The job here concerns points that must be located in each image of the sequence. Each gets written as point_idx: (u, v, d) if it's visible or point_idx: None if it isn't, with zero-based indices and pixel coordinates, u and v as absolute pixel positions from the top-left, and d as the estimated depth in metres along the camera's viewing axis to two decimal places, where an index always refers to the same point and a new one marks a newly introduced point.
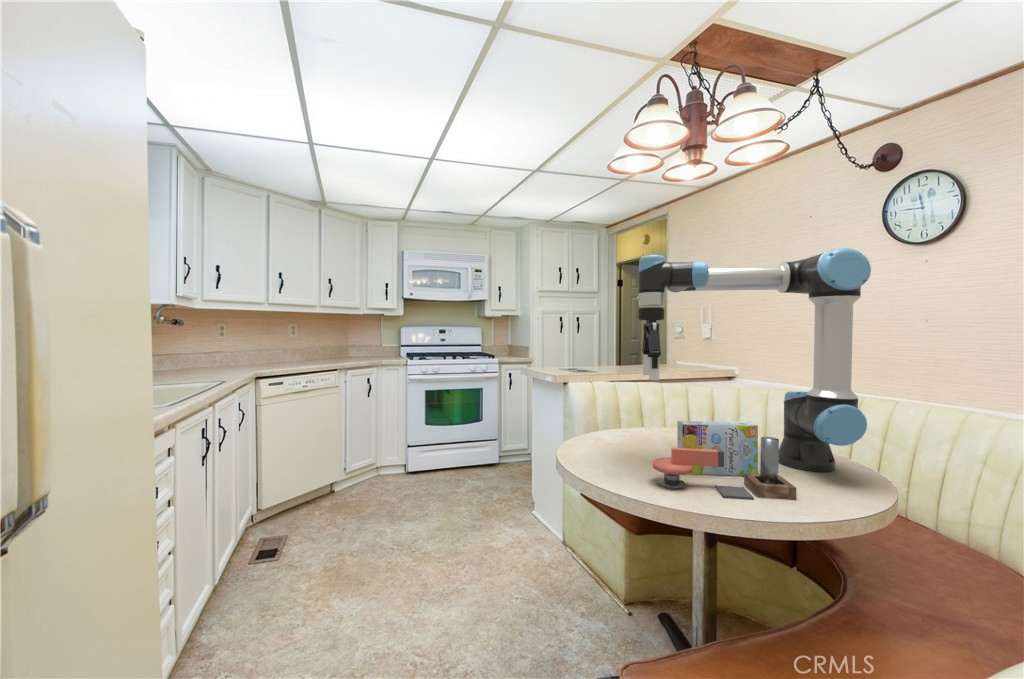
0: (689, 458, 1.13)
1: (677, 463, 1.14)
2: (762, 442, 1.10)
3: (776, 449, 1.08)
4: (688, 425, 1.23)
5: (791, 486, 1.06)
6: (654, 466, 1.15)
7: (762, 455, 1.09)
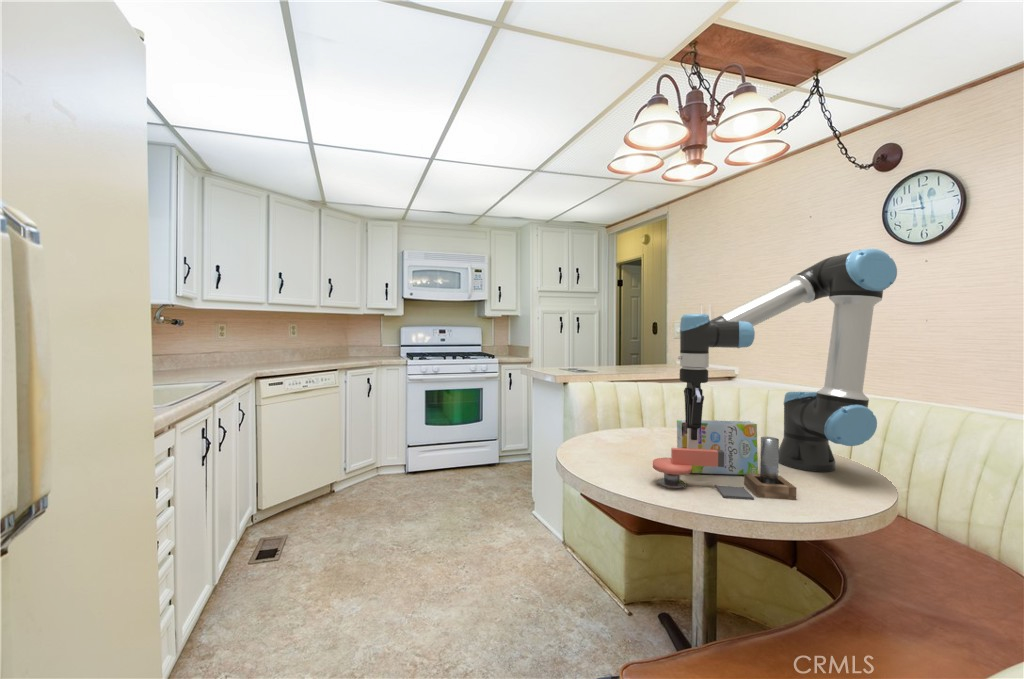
0: (689, 458, 1.13)
1: (677, 463, 1.14)
2: (762, 442, 1.10)
3: (776, 449, 1.08)
4: None
5: (791, 486, 1.06)
6: (654, 466, 1.15)
7: (762, 455, 1.09)
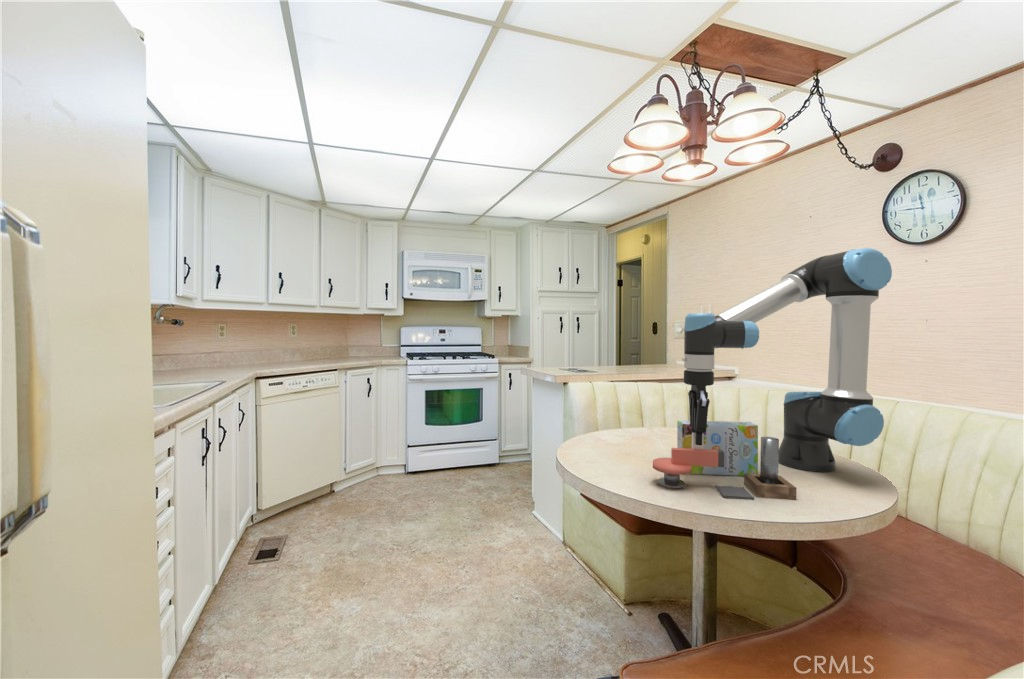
0: (689, 458, 1.13)
1: (677, 463, 1.14)
2: (762, 442, 1.10)
3: (776, 449, 1.08)
4: (688, 425, 1.23)
5: (791, 486, 1.06)
6: (654, 466, 1.15)
7: (762, 455, 1.09)
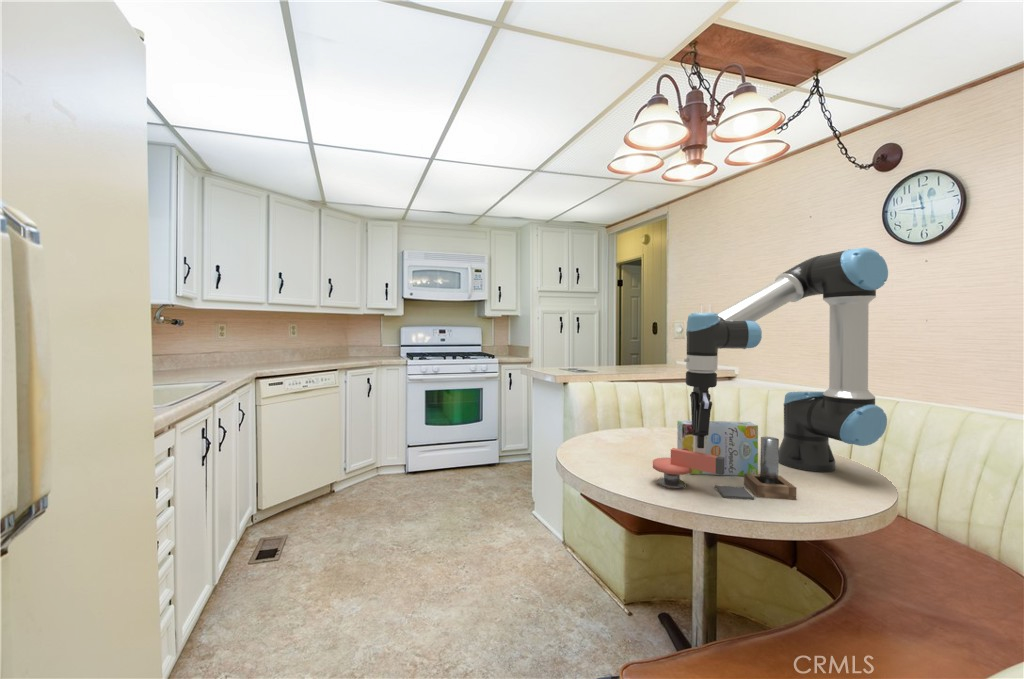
0: (686, 460, 1.12)
1: (675, 463, 1.14)
2: (762, 442, 1.10)
3: (776, 449, 1.08)
4: (688, 425, 1.23)
5: (791, 486, 1.06)
6: None
7: (762, 455, 1.09)
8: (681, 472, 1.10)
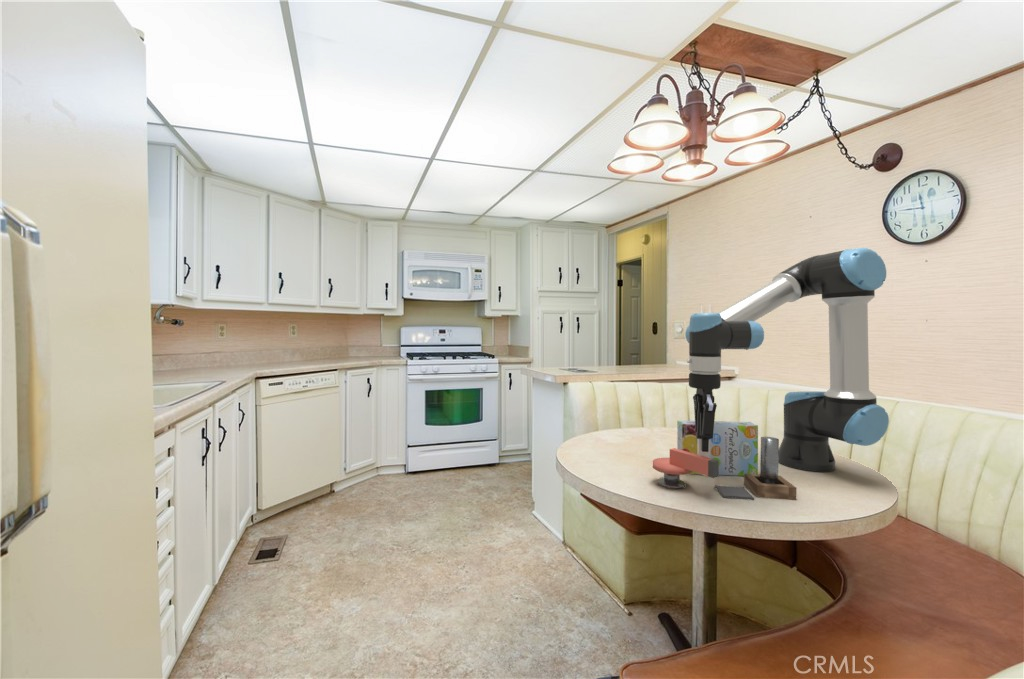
0: (683, 461, 1.11)
1: (673, 463, 1.14)
2: (762, 442, 1.10)
3: (776, 449, 1.08)
4: (688, 425, 1.23)
5: (791, 486, 1.06)
6: None
7: (762, 455, 1.09)
8: (675, 472, 1.10)
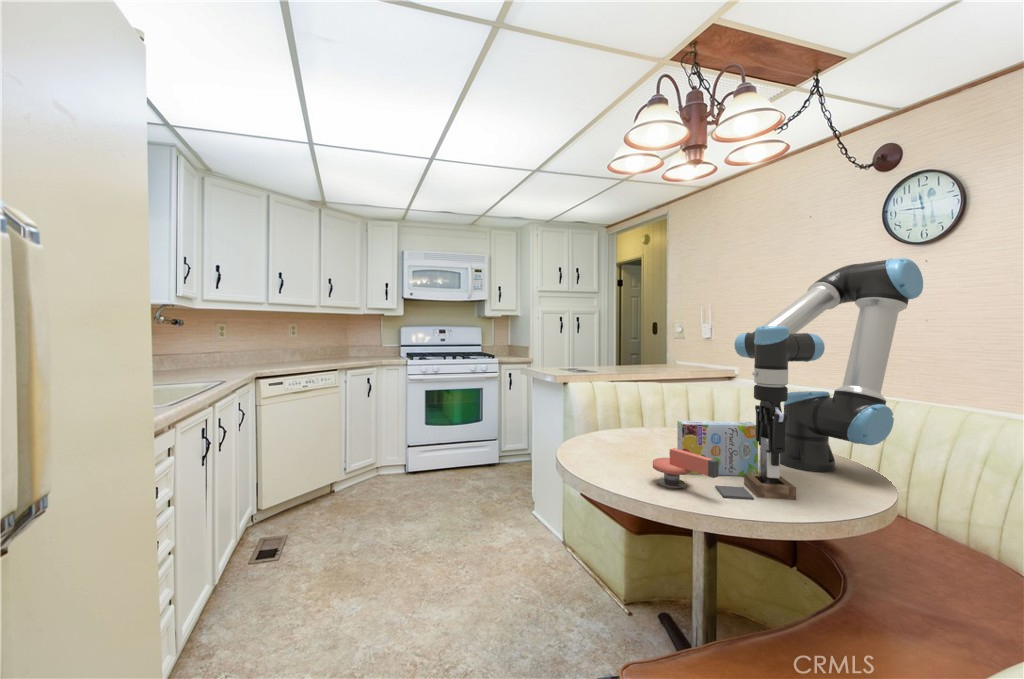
0: (683, 461, 1.11)
1: (673, 463, 1.14)
2: (762, 442, 1.10)
3: None
4: (688, 425, 1.23)
5: (791, 486, 1.06)
6: None
7: (762, 455, 1.09)
8: (675, 472, 1.10)
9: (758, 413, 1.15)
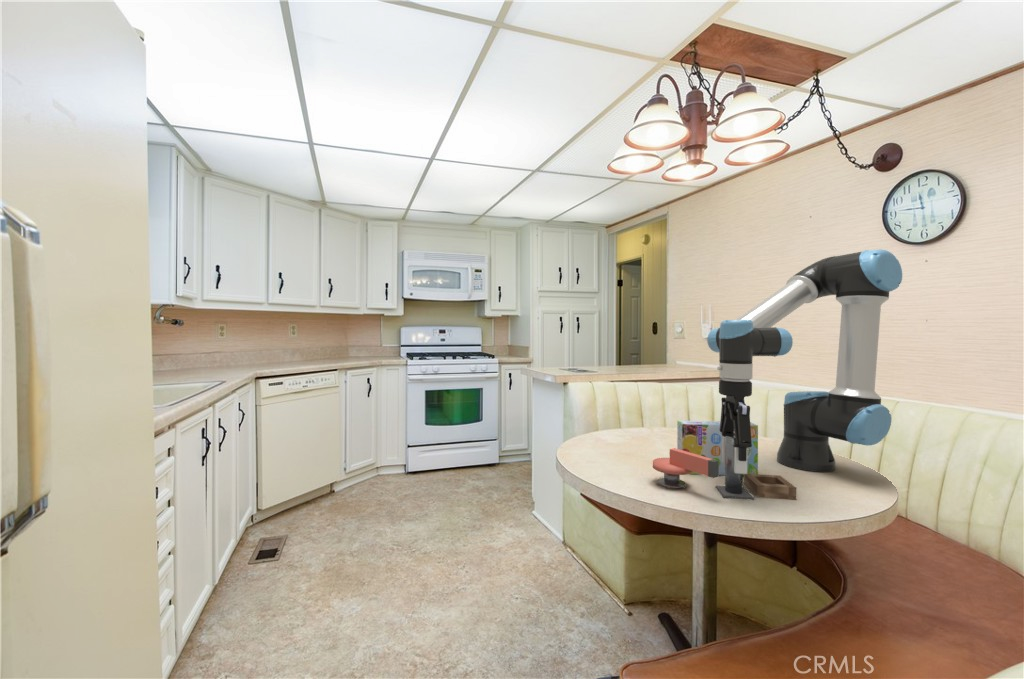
0: (683, 461, 1.11)
1: (673, 463, 1.14)
2: (726, 441, 1.08)
3: None
4: (688, 425, 1.23)
5: (791, 486, 1.06)
6: None
7: (727, 454, 1.08)
8: (675, 472, 1.10)
9: (723, 406, 1.14)
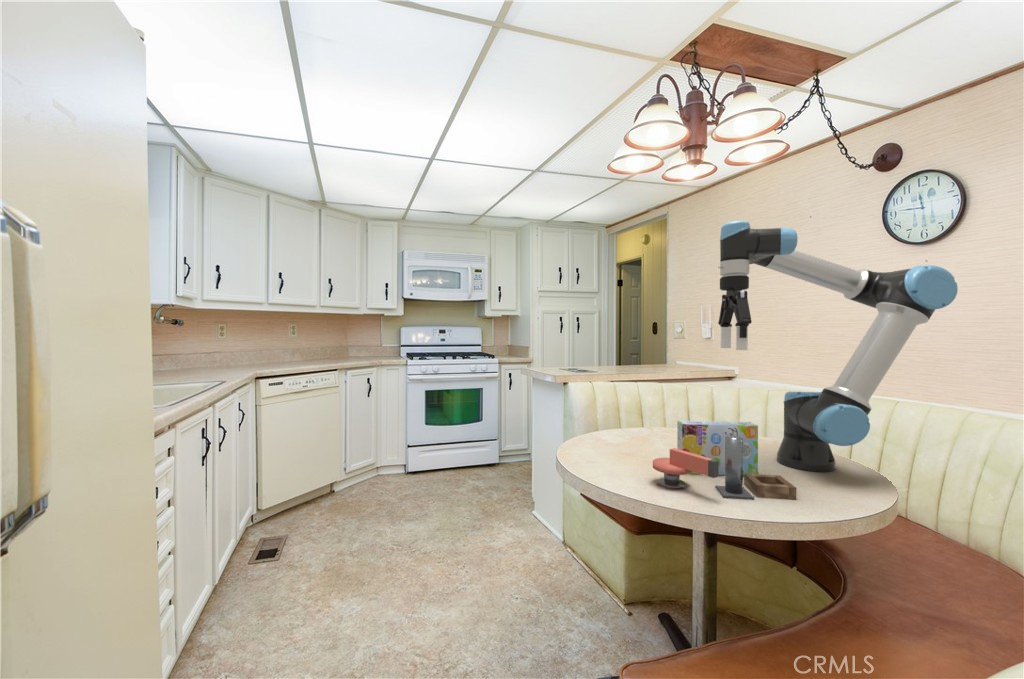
0: (683, 461, 1.11)
1: (673, 463, 1.14)
2: (726, 441, 1.08)
3: (740, 448, 1.07)
4: (688, 425, 1.23)
5: (791, 486, 1.06)
6: None
7: (727, 454, 1.08)
8: (675, 472, 1.10)
9: (723, 302, 1.29)
